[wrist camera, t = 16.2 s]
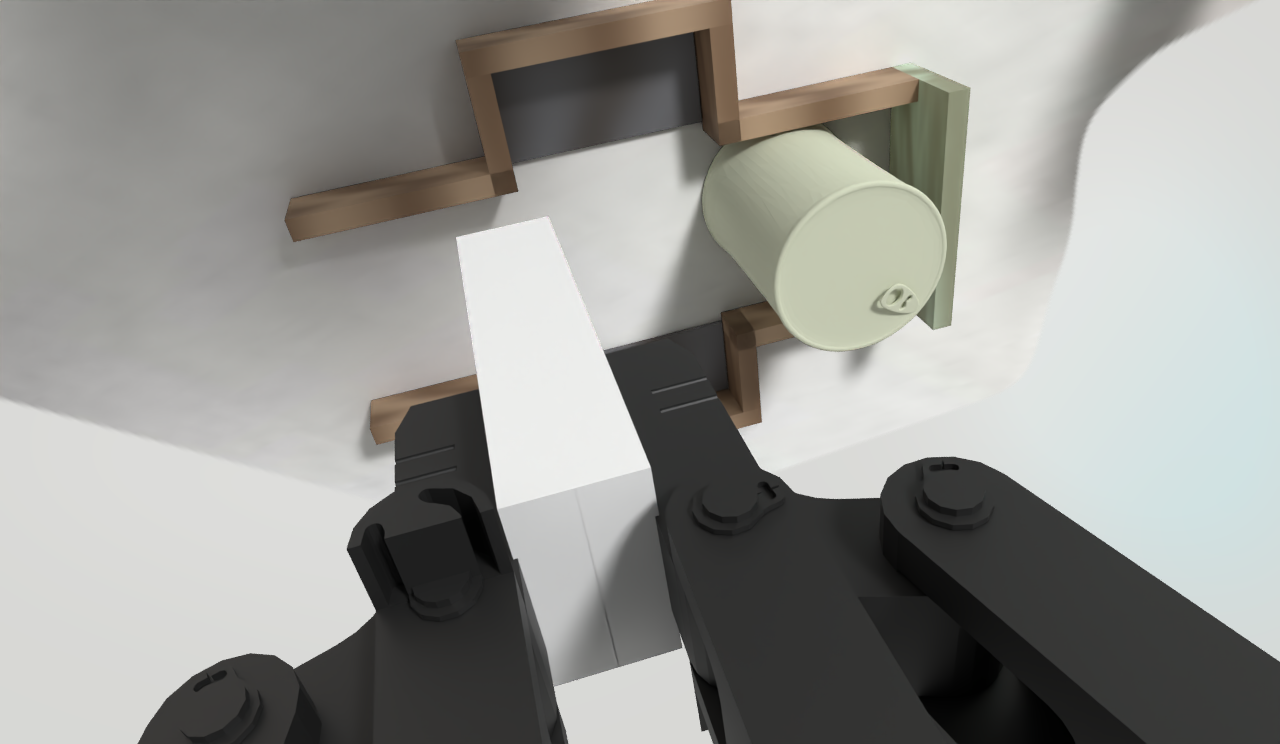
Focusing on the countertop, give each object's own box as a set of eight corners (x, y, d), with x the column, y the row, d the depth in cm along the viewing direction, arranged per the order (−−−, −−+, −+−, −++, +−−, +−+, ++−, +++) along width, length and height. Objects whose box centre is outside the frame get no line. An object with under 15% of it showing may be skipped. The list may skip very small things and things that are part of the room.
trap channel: (405, 488, 55) (407, 551, 50) (244, 82, 40) (223, 116, 35) (899, 356, 59) (944, 403, 54) (916, -53, 45) (980, -40, 40)
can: (782, 285, 54) (867, 384, 44) (671, 217, 50) (739, 311, 40) (875, 164, 51) (989, 242, 41) (766, 81, 47) (865, 146, 37)
